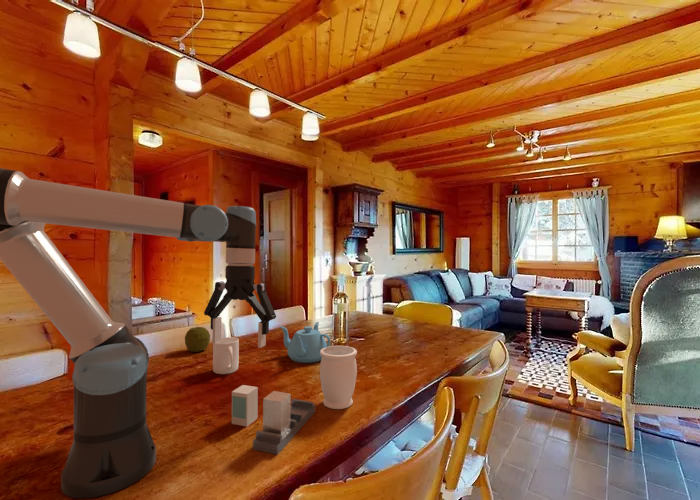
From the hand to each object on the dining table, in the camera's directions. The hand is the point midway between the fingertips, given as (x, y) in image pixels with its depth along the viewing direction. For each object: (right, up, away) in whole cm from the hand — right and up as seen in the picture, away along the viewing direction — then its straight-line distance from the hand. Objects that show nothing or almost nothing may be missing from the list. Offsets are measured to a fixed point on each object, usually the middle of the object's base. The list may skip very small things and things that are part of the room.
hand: (238, 344), depth 92 cm
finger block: (+3, -18, -5) cm, 19 cm away
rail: (+15, -18, -9) cm, 25 cm away
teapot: (+12, -18, +46) cm, 51 cm away
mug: (-14, -18, +29) cm, 36 cm away
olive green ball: (-34, -17, +52) cm, 65 cm away
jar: (+26, -18, +6) cm, 33 cm away
